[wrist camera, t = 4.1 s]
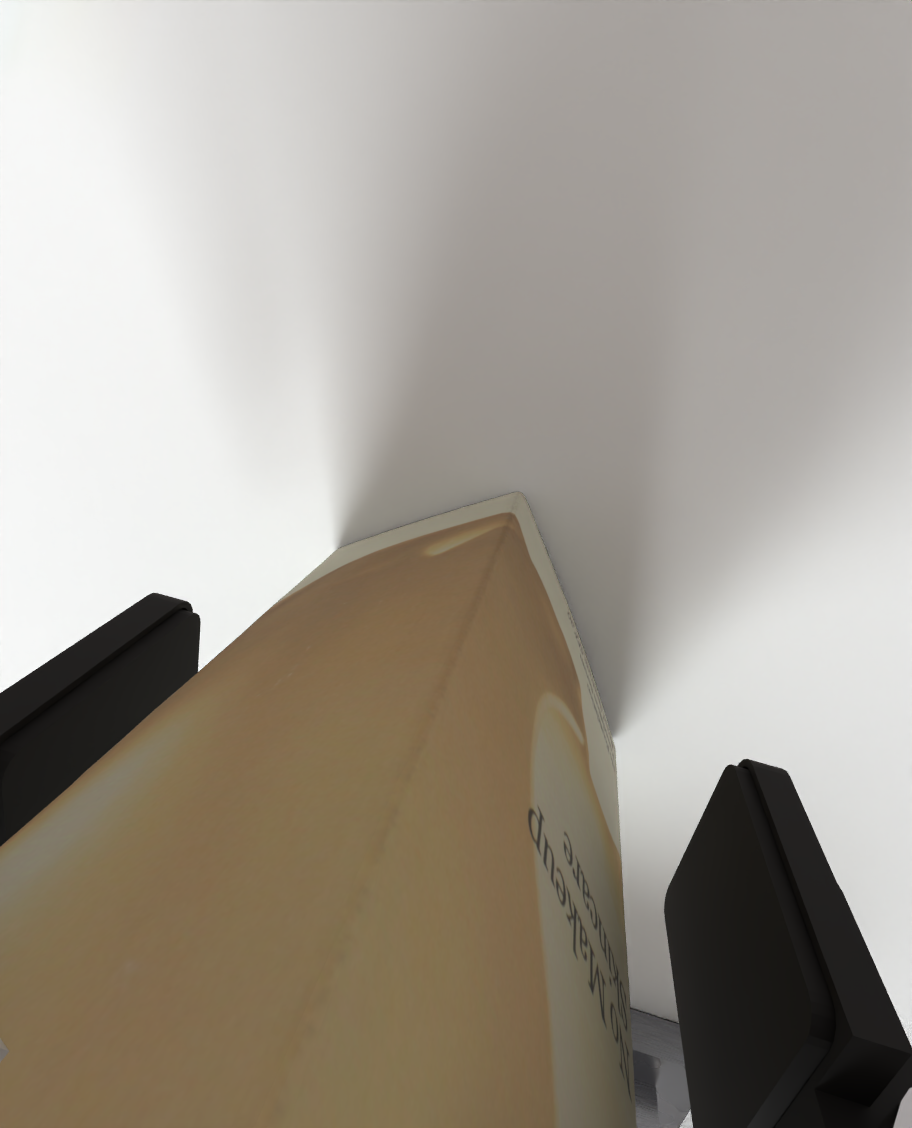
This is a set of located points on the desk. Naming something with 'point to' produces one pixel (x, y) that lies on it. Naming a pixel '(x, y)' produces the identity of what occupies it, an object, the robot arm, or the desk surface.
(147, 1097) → the skincare box
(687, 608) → the desk surface
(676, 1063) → the grey piece
